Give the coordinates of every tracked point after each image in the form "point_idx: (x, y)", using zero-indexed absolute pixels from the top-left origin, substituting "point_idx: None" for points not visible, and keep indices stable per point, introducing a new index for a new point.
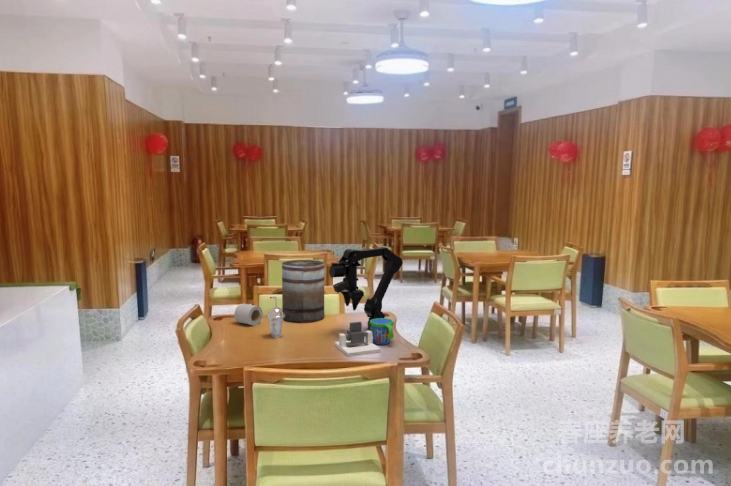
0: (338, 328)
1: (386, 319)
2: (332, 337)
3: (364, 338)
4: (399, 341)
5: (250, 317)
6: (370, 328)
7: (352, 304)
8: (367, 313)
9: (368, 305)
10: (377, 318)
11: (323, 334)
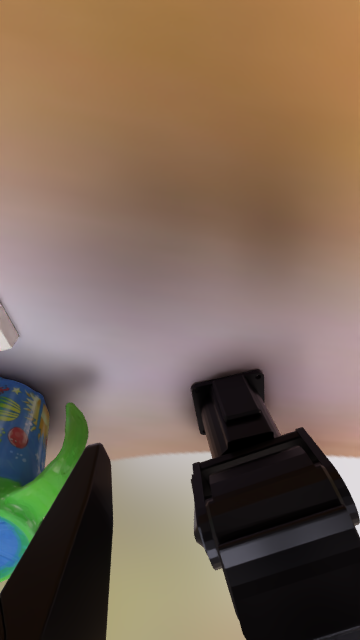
0: (356, 203)
1: (7, 564)
2: (133, 95)
3: (4, 341)
4: None
5: None
6: (66, 414)
7: (49, 562)
8: (266, 462)
9: (286, 549)
10: (23, 530)
11: (247, 7)
